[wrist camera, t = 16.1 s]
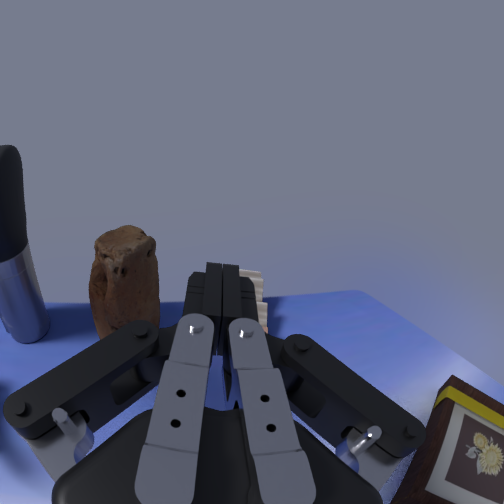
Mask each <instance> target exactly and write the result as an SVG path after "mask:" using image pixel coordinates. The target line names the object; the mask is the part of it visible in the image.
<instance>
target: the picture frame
mask: <svg viewBox="0 0 504 504" xmlns="http://www.w3.org/2000/svg"><path fill="white" fill-rule="evenodd" d="M425 430H426V439H425V441H424V443H423V444H422V445H421V446H420V447H418V448H417V451H416V453H415V455H414V458H413V460H412V462H411V464H410V466H409V468H408V471H407V473H406V475H405V477H404V479H403V481H402V483H401V485H400V486H399V488H398V490H397V492H396V494H395V496H394V498H393V499H392V501H391V503H390V504H504V405H503V404H501V403H500V402H498V401H496V400H495V399H493V398H491V397H489V396H488V395H486V394H484V393H483V392H481V391H479V390H478V389H476V388H474V387H473V386H471V385H469V384H468V383H466V382H464V381H462V380H461V379H459V378H457V377H456V376H454V375H451V377H450V378H449V379H448V380H447V381H446V382H445V383H444V385H443V386H442V387H441V388H440V389H439V391H438V394H437V397H436V400H435V403H434V406H433V409H432V412H431V415H430V418H429V421H428V423H427V426H426V429H425Z"/></svg>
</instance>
